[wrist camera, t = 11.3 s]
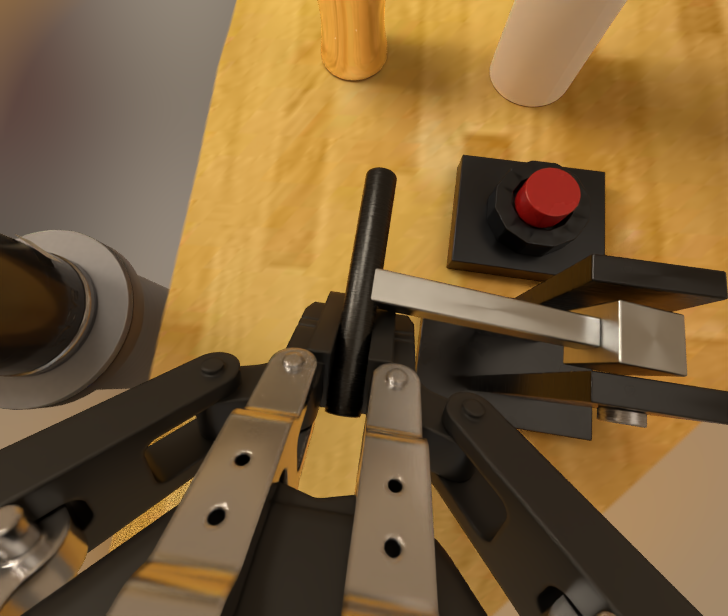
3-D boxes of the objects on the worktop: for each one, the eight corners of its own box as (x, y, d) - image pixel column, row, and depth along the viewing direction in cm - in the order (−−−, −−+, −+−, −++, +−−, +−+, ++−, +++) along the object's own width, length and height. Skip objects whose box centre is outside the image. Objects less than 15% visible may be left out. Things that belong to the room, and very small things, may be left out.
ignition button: (512, 224, 23) (524, 212, 21) (515, 179, 24) (527, 164, 22) (565, 231, 23) (580, 219, 21) (566, 185, 24) (581, 170, 22)
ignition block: (446, 268, 26) (457, 251, 22) (457, 167, 27) (469, 137, 24) (590, 288, 25) (624, 274, 22) (591, 184, 27) (623, 155, 23)
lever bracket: (409, 409, 23) (462, 449, 10) (424, 289, 25) (485, 186, 12) (580, 437, 23) (886, 521, 9) (582, 312, 25) (839, 231, 11)
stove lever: (321, 406, 11) (328, 417, 8) (359, 190, 12) (374, 150, 10) (621, 449, 13) (693, 467, 11) (619, 259, 15) (681, 239, 12)
